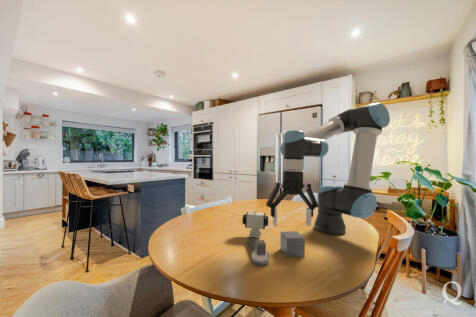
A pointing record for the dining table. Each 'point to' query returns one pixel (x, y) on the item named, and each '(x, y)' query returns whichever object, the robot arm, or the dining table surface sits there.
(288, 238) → the gray cube
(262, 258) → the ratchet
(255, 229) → the pneumatic valve
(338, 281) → the dining table surface
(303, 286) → the dining table surface
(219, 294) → the dining table surface
